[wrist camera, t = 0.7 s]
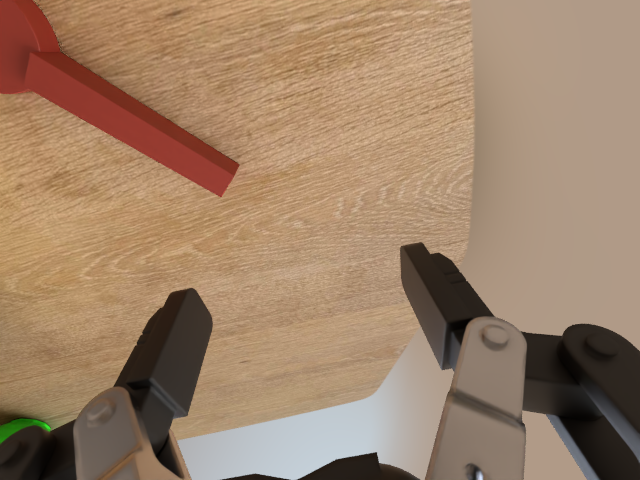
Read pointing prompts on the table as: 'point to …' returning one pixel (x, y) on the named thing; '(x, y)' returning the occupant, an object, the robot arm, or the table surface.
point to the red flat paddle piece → (98, 98)
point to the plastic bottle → (19, 427)
